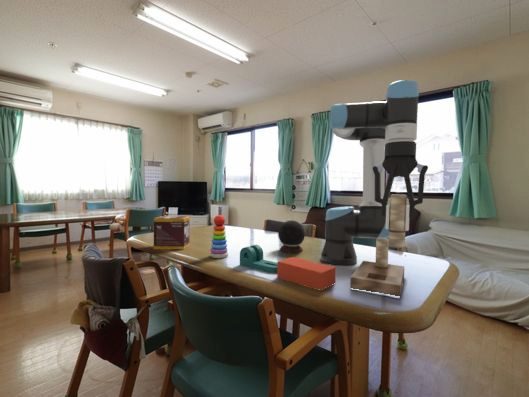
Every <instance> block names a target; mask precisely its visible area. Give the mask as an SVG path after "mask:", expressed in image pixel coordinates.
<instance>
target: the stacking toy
mask: <svg viewBox="0 0 529 397" xmlns="http://www.w3.org/2000/svg"><path fill="white" fill-rule="evenodd" d="M213 223H214V225H215V226H213V231H212V234H213V235H212V240H211V243H212V244H211V248H210V257H211V258H214V259H224V258H228V256H229V253H228V248H227V247H228V243H227V242H228V241H227V236H226V231H225V230H226V226H225V225H224V224H225V223H226V218H225V217H224V216H223V215H222V214H219V215H218V214H217V215H216V216H214V218H213Z"/></svg>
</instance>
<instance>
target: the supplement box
mask: <svg viewBox="0 0 529 397" xmlns="http://www.w3.org/2000/svg"><path fill="white" fill-rule="evenodd" d="M190 237H191V236H190V216H189V215H188V216H186V215H185V216H183V215H181V216H180V215H162V216H158V217H154V218H153V250H171V249H184V250H185V249H187V248H188V247H189V246H190V244H191V243H190ZM186 247H187V248H186Z"/></svg>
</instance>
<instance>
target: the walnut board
mask: <svg viewBox="0 0 529 397" xmlns="http://www.w3.org/2000/svg"><path fill="white" fill-rule="evenodd" d="M403 279H404V280H405V265H404V266H403V265H398V264H389V238H388V237H387V238H376V240H375V262H374V261H370V260H369V261H368V260H362V262H361V263H360V265H359V266H358V267H357V269H356V270H355V271H354V272H353V273H352V275H351V276H350V288H353V289H359V290H366V291H371V292H379V293H384V294H390V295H395V296H400V294H401V295H402V291H401V289H403V286H402V284H403V285H404V280H403ZM350 288H349V289H350ZM400 297H401V296H400Z"/></svg>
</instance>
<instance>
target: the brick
mask: <svg viewBox="0 0 529 397" xmlns="http://www.w3.org/2000/svg"><path fill="white" fill-rule="evenodd" d="M277 263H278V267H277V268H278V269H277V273H276V274H277V275H276V276H277V278H278V279H281V280H284V281H286V282H290V281H291V283H293V282H294V283H293V284H296V283H298V284H297V285H300V284H302V285H301V286H303V285H306V286H309V287H312V288H316V289H320V290H322V289H324V288H325V287H328V286H330V285H332V284H334V283H335V284H336V266H333V265H331V264H330V265H329V264H324V263H319V262H313V261H311V260H307V259H304V258H298V257H295V256H292V257H288V258H285V259H282V260H278V261H277ZM335 284H334V285H335ZM306 286H305V287H306ZM332 286H333V285H332ZM309 287H308V288H309ZM330 287H331V286H330ZM312 288H311V289H312ZM328 288H329V287H328ZM316 289H315V290H316ZM324 290H325V289H324Z"/></svg>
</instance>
